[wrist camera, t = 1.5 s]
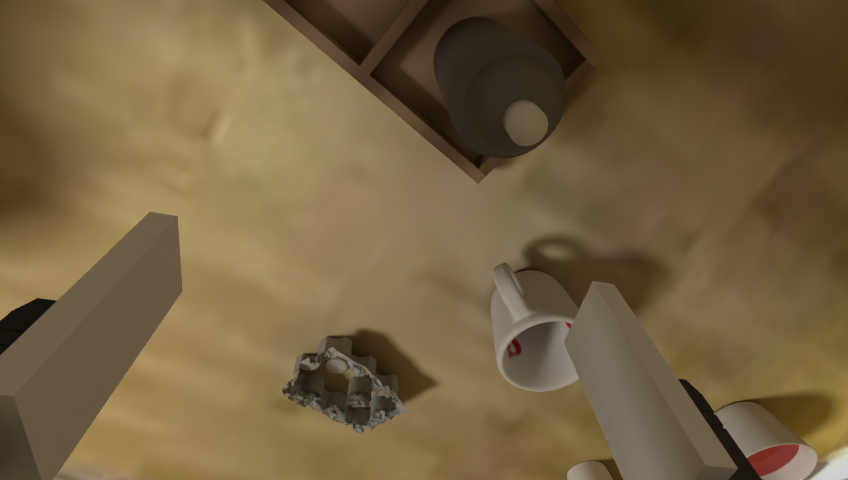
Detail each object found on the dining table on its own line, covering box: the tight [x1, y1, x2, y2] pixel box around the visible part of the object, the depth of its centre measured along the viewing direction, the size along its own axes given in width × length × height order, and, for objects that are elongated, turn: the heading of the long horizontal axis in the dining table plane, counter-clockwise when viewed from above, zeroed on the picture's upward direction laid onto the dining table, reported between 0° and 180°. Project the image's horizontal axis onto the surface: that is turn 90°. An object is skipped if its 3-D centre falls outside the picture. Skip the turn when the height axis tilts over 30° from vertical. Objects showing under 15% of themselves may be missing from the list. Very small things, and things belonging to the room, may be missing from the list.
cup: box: [491, 263, 579, 392], centre depth 39 cm, size 11×8×8 cm
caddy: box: [263, 0, 603, 183], centre depth 29 cm, size 22×12×2 cm, turn 48°
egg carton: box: [283, 336, 406, 434], centre depth 45 cm, size 11×8×4 cm
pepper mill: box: [433, 17, 566, 158], centre depth 25 cm, size 6×6×15 cm
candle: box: [714, 402, 818, 480], centre depth 51 cm, size 9×9×6 cm
